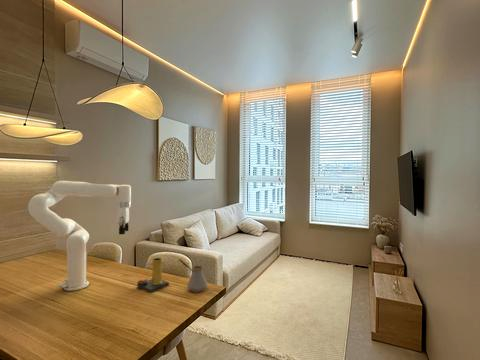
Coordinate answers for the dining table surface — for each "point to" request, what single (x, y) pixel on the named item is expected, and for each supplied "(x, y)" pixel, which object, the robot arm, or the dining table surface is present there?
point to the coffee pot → (196, 278)
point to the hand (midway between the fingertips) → (123, 232)
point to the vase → (157, 271)
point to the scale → (151, 285)
